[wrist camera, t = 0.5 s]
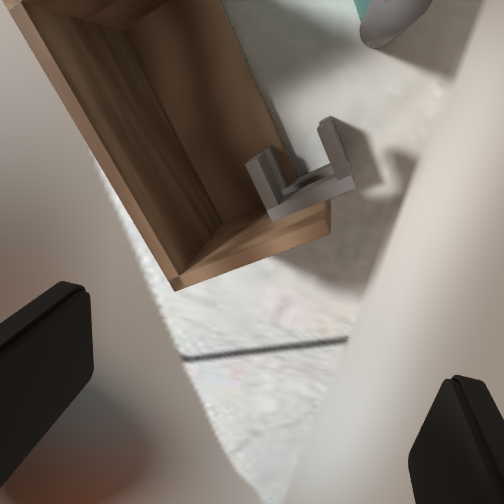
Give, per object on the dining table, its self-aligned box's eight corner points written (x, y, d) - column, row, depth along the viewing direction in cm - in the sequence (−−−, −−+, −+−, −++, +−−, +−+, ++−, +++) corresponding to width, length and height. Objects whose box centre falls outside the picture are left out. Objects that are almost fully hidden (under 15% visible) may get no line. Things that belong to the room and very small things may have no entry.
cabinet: (257, -73, 29) (206, -187, 17) (354, 176, 34) (366, 220, 23) (115, 27, 33) (-2, -8, 22) (221, 231, 39) (174, 291, 27)
